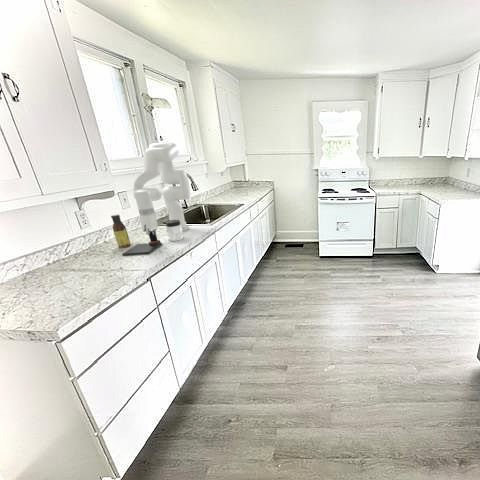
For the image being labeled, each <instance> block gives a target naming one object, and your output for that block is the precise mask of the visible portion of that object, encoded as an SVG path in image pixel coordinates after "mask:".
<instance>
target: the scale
mask: <svg viewBox="0 0 480 480" xmlns="http://www.w3.org/2000/svg"><path fill="white" fill-rule="evenodd" d="M162 245H163V243H162V242H161V240H160V239H157V242H155V243H152V242H151V241H149V242H146V243H136V244H135V245H133V246H132V247H130V248H128V249H127V250H126V251H124V252H122V254H121V256H122V257H128V256H129V257H130V256H143V255H150V254H151V253H153V252H154V251H155V250H157V249H159V247H161V246H162Z"/></svg>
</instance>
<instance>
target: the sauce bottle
mask: <svg viewBox="0 0 480 480" xmlns="http://www.w3.org/2000/svg"><path fill="white" fill-rule="evenodd" d="M110 218H111V220H112V223H113V225H112V231H113V235H114V237H115V240H116V243H117V246H118V248H120V249H124V248H128V247H130V246H131V240H130V237H129V234H128V230H127V228H126V226H125V225H124V222H122V220H121V216H120V214H119V213H118V214H112V215H110Z"/></svg>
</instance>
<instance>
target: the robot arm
mask: <svg viewBox="0 0 480 480" xmlns="http://www.w3.org/2000/svg"><path fill="white" fill-rule="evenodd" d="M179 150H180V149H179V147H178V145H177V144H175V143H173V142H155V143H151V144H149V146H148V148H147V149H146V150H145V152H144V161H143V170H142V172H141V173H140V174H139V175H138V176H137V177H136V178H135V180H134V181H133V191H132V192H133V194H132V195H133V197H134V199H135V201H136V206H137V210H138V213H139V220H140V226H141V230H142V232H143V233H145V234H146V235H148V237H149V240H150V241H151V242H154V241H157V240H158V237H157V229H158V227H159V224H158V220H157V216H156V215H155V214H156V213H155V208H154V203H153V202H156V201H159V200H161V199H162V197H163V199H164V202H165V205H166V208H167V214H168V218H169V221H170V220H180V224H181V227H182V232H185V231H188V230H189V229H190V227H189V226H188V225H187V221H186V219H185V218H186V217H185V214H184V209H183V205H182V203H181V202H180V201H184V200H189V199H190V198H191V190H190V182H189V177H188V174H187V172H186V171H185V170H183V169H175V163H174V161H173V160H175V159H176V158H177V157H178V155H179V153H180V151H179ZM160 174H161V180H162V182H163V183H164V184H165V185H169V186H165V187H163V188H162V190H160V189H159V188H157V187H144V186H145V184H147V183H148V182H149V181H151V180H153V179H156V178H158V177H159V176H160ZM171 185H172V186H171ZM150 241H149V242H150Z"/></svg>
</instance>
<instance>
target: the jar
mask: <svg viewBox="0 0 480 480" xmlns="http://www.w3.org/2000/svg"><path fill="white" fill-rule="evenodd" d="M165 229H166V233H167V237H168V241H170V242H171V241H172V242H175V241H180V240H183V239H184V231H182V227H181V224H180V220H170V219H169V220H167V221H165Z"/></svg>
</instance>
